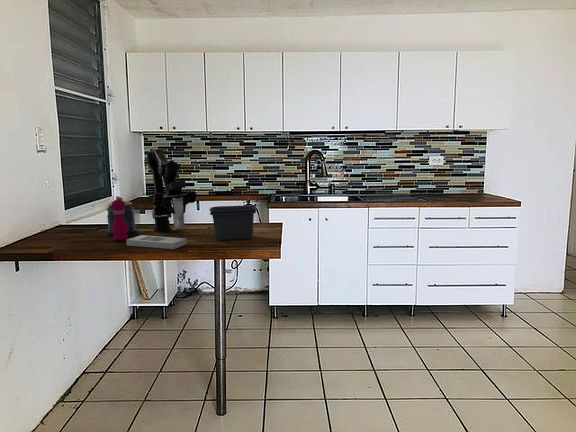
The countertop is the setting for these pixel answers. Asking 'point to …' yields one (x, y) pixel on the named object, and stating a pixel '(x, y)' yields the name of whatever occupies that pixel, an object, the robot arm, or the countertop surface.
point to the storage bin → (233, 221)
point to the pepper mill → (119, 220)
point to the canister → (127, 216)
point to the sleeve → (178, 212)
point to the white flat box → (156, 242)
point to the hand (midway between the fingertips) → (179, 213)
